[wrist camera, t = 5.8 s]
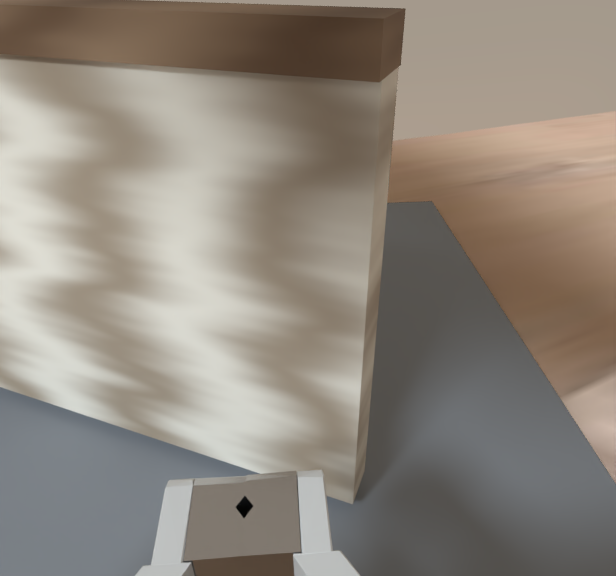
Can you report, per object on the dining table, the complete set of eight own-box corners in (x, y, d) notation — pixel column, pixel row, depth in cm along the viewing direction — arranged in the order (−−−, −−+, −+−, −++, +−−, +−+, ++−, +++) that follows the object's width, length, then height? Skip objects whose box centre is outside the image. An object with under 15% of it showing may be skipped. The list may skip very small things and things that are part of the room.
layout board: (-418, 785, 14) (-432, 779, 13) (42, 219, 42) (40, 213, 42) (735, 682, 15) (743, 676, 15) (431, 205, 44) (431, 200, 43)
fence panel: (-12, 386, 25) (-197, -3, 16) (21, 360, 26) (-131, -8, 17) (351, 508, 19) (384, 18, 10) (365, 466, 21) (405, 8, 12)
